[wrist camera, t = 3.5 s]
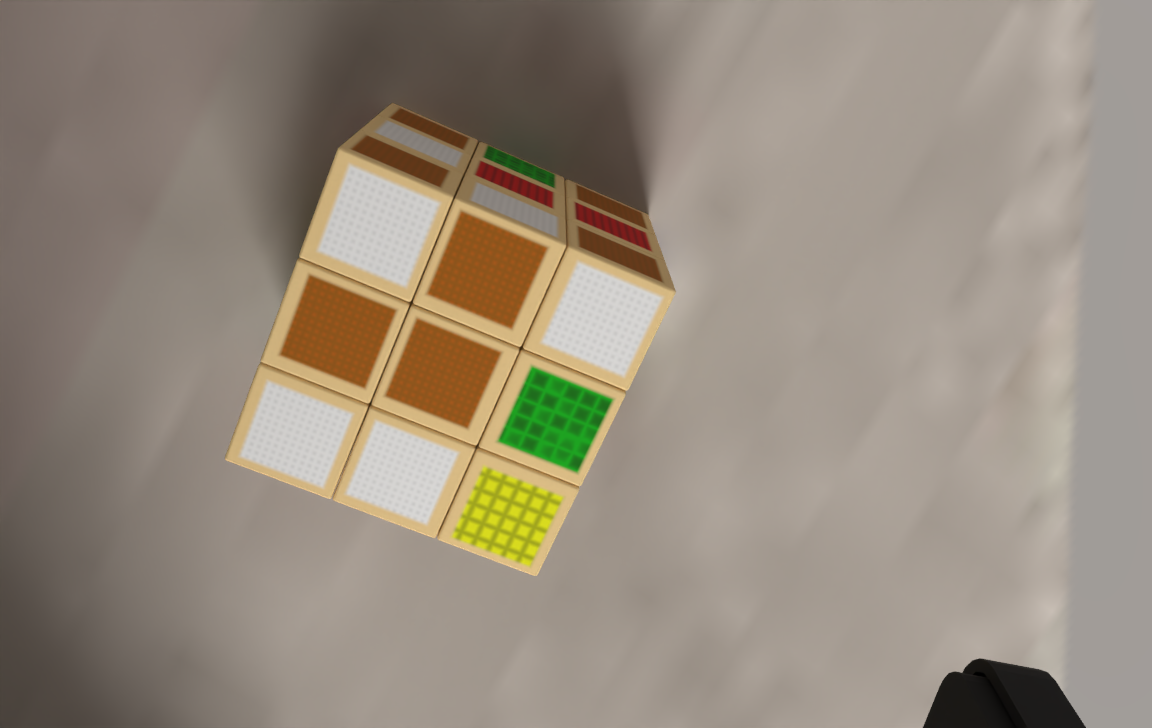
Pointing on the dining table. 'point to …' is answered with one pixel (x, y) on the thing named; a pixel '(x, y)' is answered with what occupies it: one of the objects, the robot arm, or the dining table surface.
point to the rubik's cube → (453, 339)
